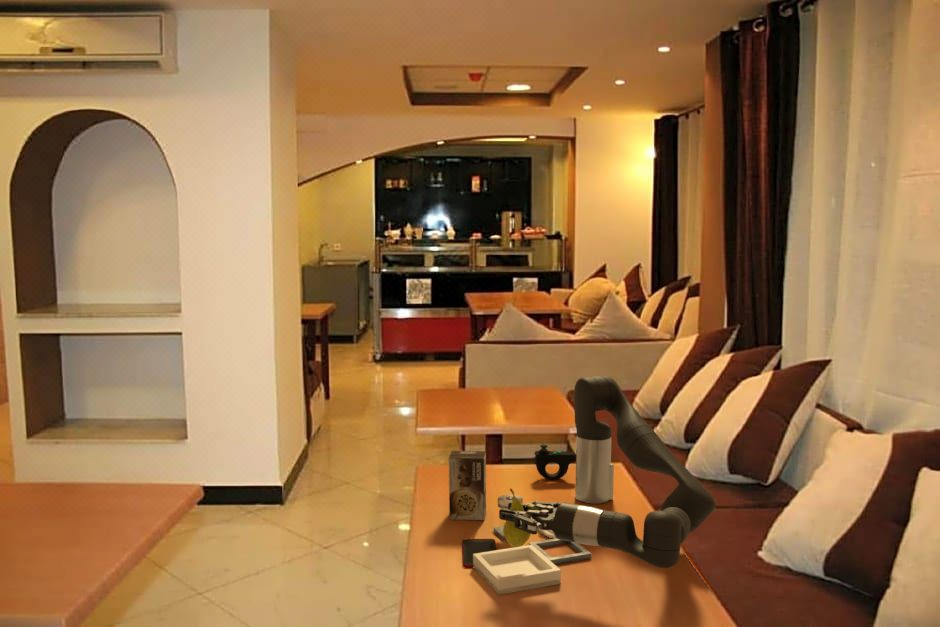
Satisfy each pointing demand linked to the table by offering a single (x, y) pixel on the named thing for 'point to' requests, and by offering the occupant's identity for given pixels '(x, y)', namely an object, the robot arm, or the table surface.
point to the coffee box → (467, 485)
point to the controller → (553, 456)
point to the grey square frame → (566, 558)
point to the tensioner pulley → (503, 503)
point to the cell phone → (475, 549)
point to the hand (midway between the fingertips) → (504, 510)
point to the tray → (516, 569)
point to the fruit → (512, 533)
